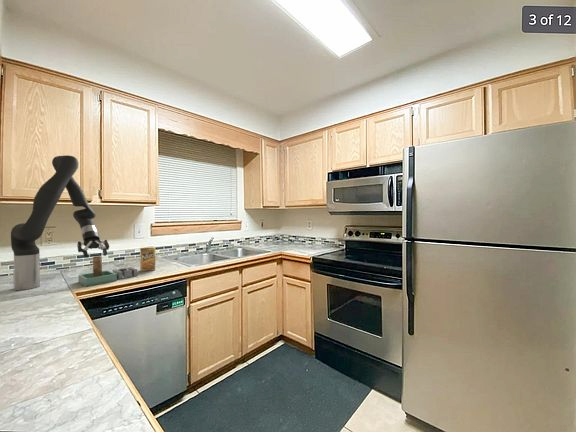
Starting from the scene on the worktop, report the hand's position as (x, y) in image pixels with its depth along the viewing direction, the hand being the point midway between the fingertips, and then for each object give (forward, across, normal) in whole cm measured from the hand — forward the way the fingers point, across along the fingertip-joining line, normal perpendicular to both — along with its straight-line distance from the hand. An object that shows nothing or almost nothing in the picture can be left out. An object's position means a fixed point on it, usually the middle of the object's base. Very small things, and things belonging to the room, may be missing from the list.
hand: (96, 255), depth 142 cm
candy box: (+6, +30, +14) cm, 34 cm away
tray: (+11, 0, +9) cm, 14 cm away
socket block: (+10, +14, +10) cm, 20 cm away
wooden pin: (+10, 0, +8) cm, 13 cm away
